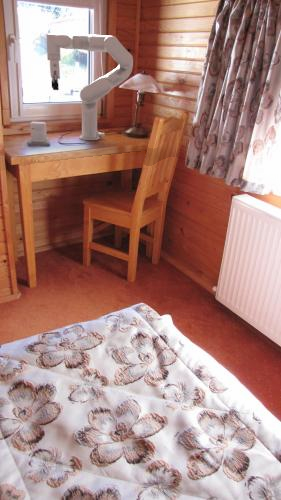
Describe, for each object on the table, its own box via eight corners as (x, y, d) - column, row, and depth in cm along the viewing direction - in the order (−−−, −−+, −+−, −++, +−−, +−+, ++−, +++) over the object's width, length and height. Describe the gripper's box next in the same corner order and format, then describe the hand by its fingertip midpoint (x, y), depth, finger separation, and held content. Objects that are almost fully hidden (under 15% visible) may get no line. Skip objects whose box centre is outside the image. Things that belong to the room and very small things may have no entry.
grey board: (48, 141, 238) (48, 139, 238) (50, 146, 228) (50, 143, 227) (28, 141, 235) (27, 139, 235) (28, 146, 225) (28, 143, 224)
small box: (47, 140, 234) (46, 122, 229) (44, 142, 229) (43, 123, 224) (33, 139, 234) (32, 121, 229) (31, 141, 229) (29, 122, 224)
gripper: (61, 58, 225) (62, 90, 233) (59, 57, 239) (60, 87, 247) (48, 57, 223) (49, 90, 231) (46, 56, 238) (47, 87, 245)
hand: (55, 89), depth 239 cm, fingers open, 9 cm apart
